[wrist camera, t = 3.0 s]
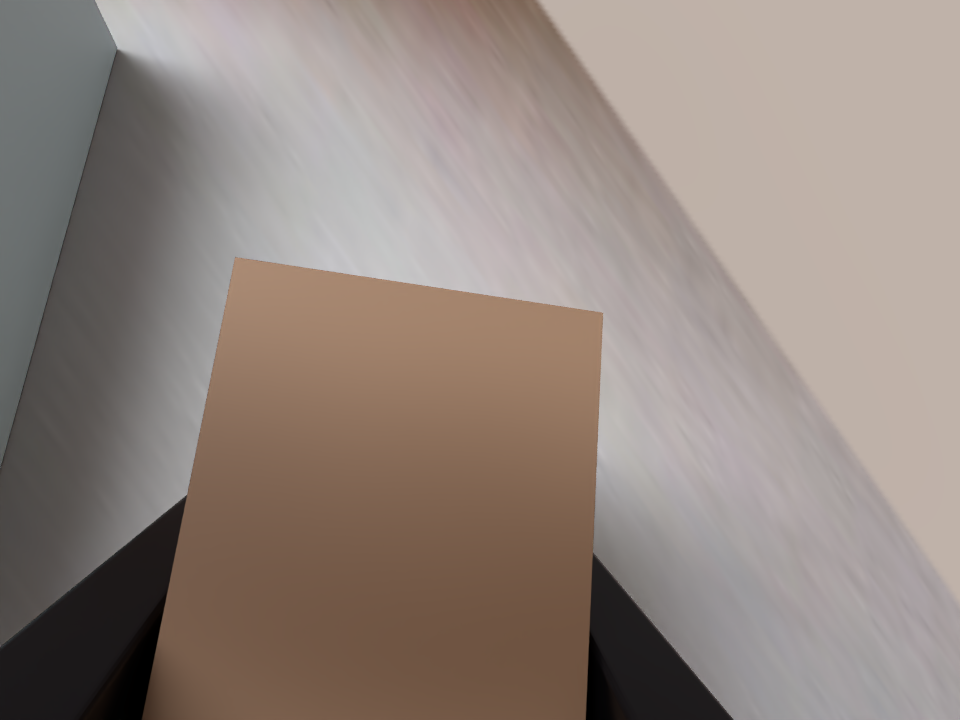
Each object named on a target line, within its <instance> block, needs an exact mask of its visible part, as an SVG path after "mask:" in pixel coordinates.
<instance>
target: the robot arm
mask: <svg viewBox="0 0 960 720" xmlns="http://www.w3.org/2000/svg"><path fill="white" fill-rule="evenodd" d="M186 498H187V495H186V496H185V497H184V498H183V499H181V500H180V501H179V502H178V503H177V504H175V505H174V506H173V507H172V508H170V509H169V510H168V511H167V512H166V513H164V514H163V515H162V516H161V517H159V518H158V519H157V520H156V521H154V522H153V523H152V524H151V525H150V526H148V527H147V528H146V529H145V530H143V531H142V532H141V533H140V534H138V535H137V536H136V537H135V538H134V539H132V540H131V541H130V542H129V543H127V544H126V545H125V546H124V547H123V548H121V549H120V550H119V551H118V552H116V553H115V554H114V555H113V556H111V557H110V558H109V559H108V560H107V561H105V562H104V563H103V564H102V565H100V566H99V567H98V568H97V569H96V570H94V571H93V572H92V573H91V574H89V575H88V576H87V577H86V578H84V579H83V580H82V581H81V582H80V583H78V584H77V585H76V586H75V587H73V588H72V589H71V590H70V591H68V592H67V593H66V594H65V595H64V596H62V597H61V598H60V599H59V600H57V601H56V602H55V603H54V604H53V605H51V606H50V607H49V608H48V609H46V610H45V611H44V612H43V613H41V614H40V615H39V616H38V617H37V618H35V619H34V620H33V621H32V622H30V623H29V624H28V625H27V626H26V627H24V628H23V629H22V630H21V631H19V632H18V633H17V634H16V635H14V636H13V637H12V638H11V639H10V640H8V641H7V642H6V643H5V644H3V645H2V646H1V647H0V720H142V716H143V712H144V707H145V702H146V697H147V692H148V687H149V682H150V677H151V672H152V667H153V662H154V657H155V652H156V647H157V642H158V637H159V632H160V627H161V622H162V617H163V612H164V607H165V603H166V598H167V593H168V588H169V583H170V578H171V573H172V568H173V563H174V558H175V553H176V548H177V543H178V538H179V533H180V528H181V523H182V518H183V513H184V508H185V503H186ZM586 720H733V718H732V717H731V716H730V715H729V714H728V713H727V711H726V710H725V709H724V708H723V707H722V705H721V704H720V703H719V702H718V701H717V699H716V698H715V697H714V696H713V695H712V693H711V692H710V691H709V690H708V689H707V688H706V686H705V685H704V684H703V683H702V682H701V680H700V679H699V678H698V677H697V676H696V674H695V673H694V672H693V671H692V670H691V668H690V667H689V666H688V665H687V664H686V663H685V661H684V660H683V659H682V658H681V657H680V655H679V654H678V653H677V652H676V651H675V649H674V648H673V647H672V646H671V645H670V644H669V642H668V641H667V640H666V639H665V638H664V636H663V635H662V634H661V633H660V632H659V630H658V629H657V628H656V627H655V626H654V624H653V623H652V622H651V621H650V620H649V619H648V617H647V616H646V615H645V614H644V613H643V611H642V610H641V609H640V608H639V607H638V605H637V604H636V603H635V602H634V601H633V600H632V598H631V597H630V596H629V595H628V594H627V592H626V591H625V590H624V589H623V588H622V586H621V585H620V584H619V583H618V582H617V580H616V579H615V578H614V577H613V576H612V575H611V573H610V572H609V571H608V570H607V569H606V567H605V566H604V565H603V564H602V563H601V561H600V560H599V559H598V558H597V557H596V556H595V554H594V553H593V558H592V581H591V605H590V628H589V651H588V675H587V698H586Z"/></svg>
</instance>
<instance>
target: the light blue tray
mask: <svg viewBox="0 0 960 720" xmlns="http://www.w3.org/2000/svg"><path fill="white" fill-rule="evenodd" d="M116 50H117V46H116V44H115V42H114V40H113V38H112V35H111V33H110V31H109V29H108V27H107V25H106V23H105V21H104V19H103V17H102V15H101V13H100V10H99V8H98V6H97V4H96V2H95V0H0V468H1V464H2V460H3V457H4V453H5V450H6V446H7V442H8V439H9V435H10V432H11V428H12V424H13V421H14V417H15V414H16V410H17V406H18V403H19V399H20V396H21V392H22V388H23V385H24V381H25V378H26V374H27V371H28V367H29V363H30V360H31V356H32V353H33V349H34V345H35V342H36V338H37V335H38V331H39V327H40V324H41V320H42V317H43V313H44V309H45V306H46V302H47V299H48V295H49V291H50V288H51V284H52V281H53V277H54V273H55V270H56V266H57V263H58V259H59V255H60V252H61V248H62V245H63V241H64V237H65V234H66V230H67V227H68V223H69V219H70V216H71V212H72V209H73V205H74V202H75V198H76V194H77V191H78V187H79V184H80V180H81V176H82V173H83V169H84V166H85V162H86V158H87V155H88V151H89V148H90V144H91V140H92V137H93V133H94V130H95V126H96V122H97V119H98V115H99V112H100V108H101V104H102V101H103V97H104V94H105V90H106V86H107V83H108V79H109V76H110V72H111V68H112V65H113V61H114V58H115V54H116Z"/></svg>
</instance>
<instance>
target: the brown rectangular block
mask: <svg viewBox="0 0 960 720" xmlns="http://www.w3.org/2000/svg"><path fill="white" fill-rule="evenodd" d="M602 325H603V313H601V312H594V311H588V310H581V309H574V308H568V307H561V306H555V305H548V304H541V303H535V302H528V301H522V300H515V299H508V298H502V297H495V296H488V295H482V294H475V293H469V292H462V291H455V290H449V289H442V288H435V287H429V286H422V285H416V284H409V283H402V282H396V281H389V280H382V279H376V278H369V277H363V276H356V275H349V274H343V273H336V272H329V271H323V270H316V269H310V268H303V267H296V266H290V265H283V264H276V263H270V262H263V261H257V260H250V259H243V258H237V257H235V261H234V266H233V271H232V276H231V280H230V285H229V290H228V295H227V300H226V305H225V310H224V315H223V320H222V325H221V330H220V335H219V340H218V345H217V350H216V355H215V360H214V365H213V370H212V375H211V380H210V385H209V389H208V394H207V399H206V404H205V409H204V414H203V419H202V424H201V429H200V434H199V439H198V444H197V449H196V454H195V459H194V464H193V469H192V474H191V479H190V484H189V489H188V494H187V498H186V503H185V508H184V513H183V518H182V523H181V528H180V533H179V538H178V543H177V548H176V553H175V558H174V563H173V568H172V573H171V578H170V583H169V588H168V593H167V598H166V603H165V607H164V612H163V617H162V622H161V627H160V632H159V637H158V642H157V647H156V652H155V657H154V662H153V667H152V672H151V677H150V682H149V687H148V692H147V697H146V702H145V707H144V712H143V716H142V720H586V698H587V675H588V651H589V628H590V605H591V581H592V558H593V535H594V512H595V488H596V465H597V442H598V418H599V395H600V372H601V348H602Z"/></svg>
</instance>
